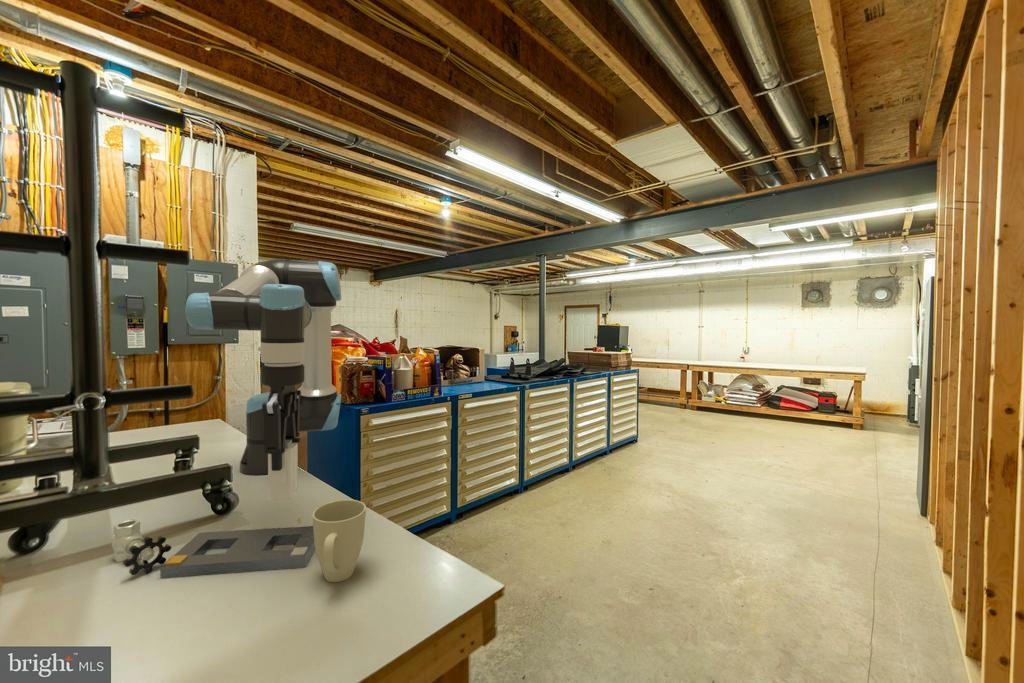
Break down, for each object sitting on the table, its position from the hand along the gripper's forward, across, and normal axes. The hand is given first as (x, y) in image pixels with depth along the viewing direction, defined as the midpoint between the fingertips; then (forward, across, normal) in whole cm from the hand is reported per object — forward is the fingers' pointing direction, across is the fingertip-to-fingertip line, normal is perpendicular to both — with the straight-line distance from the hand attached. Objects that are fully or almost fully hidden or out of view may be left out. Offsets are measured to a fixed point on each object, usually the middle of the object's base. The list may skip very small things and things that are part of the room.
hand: (283, 479), depth 81 cm
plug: (+3, 0, 0) cm, 3 cm away
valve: (+15, +1, -25) cm, 29 cm away
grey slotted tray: (+15, +1, -6) cm, 16 cm away
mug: (+14, +11, +13) cm, 22 cm away
